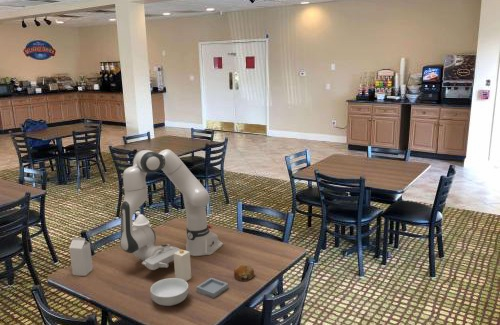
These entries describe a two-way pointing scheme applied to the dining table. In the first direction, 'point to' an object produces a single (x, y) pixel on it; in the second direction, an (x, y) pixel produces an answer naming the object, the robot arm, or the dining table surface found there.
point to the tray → (212, 287)
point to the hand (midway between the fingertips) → (174, 262)
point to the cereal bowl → (169, 291)
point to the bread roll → (243, 272)
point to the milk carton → (80, 257)
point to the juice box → (182, 265)
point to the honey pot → (140, 221)
